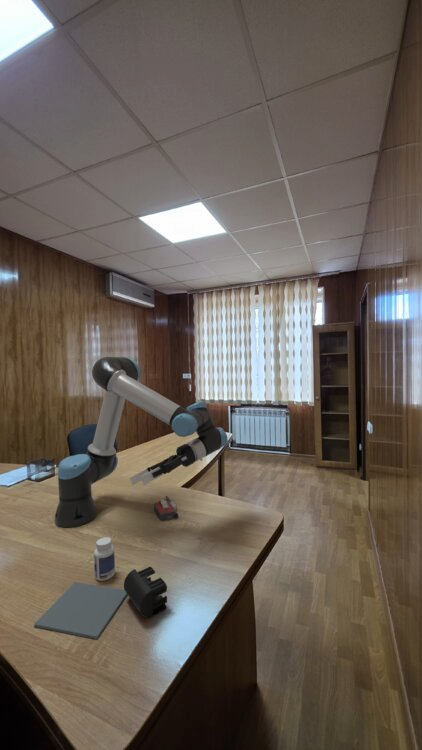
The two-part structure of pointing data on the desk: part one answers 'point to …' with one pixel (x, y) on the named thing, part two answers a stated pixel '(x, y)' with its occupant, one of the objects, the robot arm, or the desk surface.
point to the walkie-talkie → (165, 509)
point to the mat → (83, 610)
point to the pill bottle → (104, 559)
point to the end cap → (146, 592)
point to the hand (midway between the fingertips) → (136, 481)
